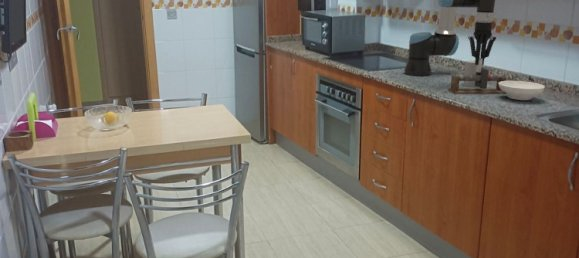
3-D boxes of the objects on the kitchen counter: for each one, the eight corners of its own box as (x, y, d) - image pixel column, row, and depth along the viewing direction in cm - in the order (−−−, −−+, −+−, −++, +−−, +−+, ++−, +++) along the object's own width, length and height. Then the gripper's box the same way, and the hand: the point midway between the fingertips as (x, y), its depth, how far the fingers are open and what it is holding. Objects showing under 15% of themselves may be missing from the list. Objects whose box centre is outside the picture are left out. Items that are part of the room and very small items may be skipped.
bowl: (519, 105, 234) (521, 90, 233) (487, 96, 252) (489, 82, 250) (552, 102, 242) (554, 87, 240) (518, 93, 259) (520, 79, 257)
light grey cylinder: (481, 86, 274) (483, 63, 271) (464, 86, 276) (466, 62, 272) (478, 84, 282) (481, 61, 278) (462, 83, 283) (465, 60, 280)
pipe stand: (454, 93, 256) (456, 75, 254) (448, 90, 264) (449, 72, 261) (506, 93, 258) (509, 75, 256) (499, 90, 266) (501, 73, 264)
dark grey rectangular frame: (481, 88, 256) (483, 69, 254) (474, 85, 264) (476, 67, 262) (486, 88, 257) (488, 69, 254) (479, 85, 264) (481, 67, 262)
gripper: (473, 22, 248) (468, 73, 254) (501, 22, 249) (495, 73, 255) (467, 20, 255) (462, 70, 261) (493, 21, 256) (488, 70, 262)
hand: (478, 71), depth 258 cm, fingers closed
